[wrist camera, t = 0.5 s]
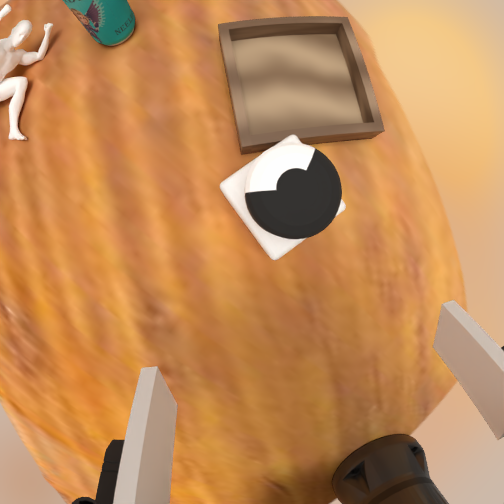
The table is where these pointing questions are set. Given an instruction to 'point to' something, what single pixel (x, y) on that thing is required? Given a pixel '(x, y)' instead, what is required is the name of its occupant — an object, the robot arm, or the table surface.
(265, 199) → the container
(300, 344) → the table surface
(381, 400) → the table surface
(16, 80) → the person figurine
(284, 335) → the table surface
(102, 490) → the robot arm
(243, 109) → the crate
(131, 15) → the beverage can
